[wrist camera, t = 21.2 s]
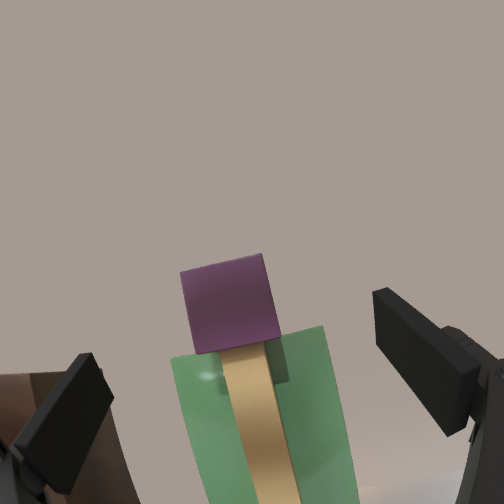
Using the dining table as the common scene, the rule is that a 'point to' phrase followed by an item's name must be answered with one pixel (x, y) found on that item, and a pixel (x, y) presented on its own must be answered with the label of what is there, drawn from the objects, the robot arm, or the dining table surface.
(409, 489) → the dining table surface
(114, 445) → the stand
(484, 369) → the robot arm
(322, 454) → the green stand
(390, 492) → the dining table surface
